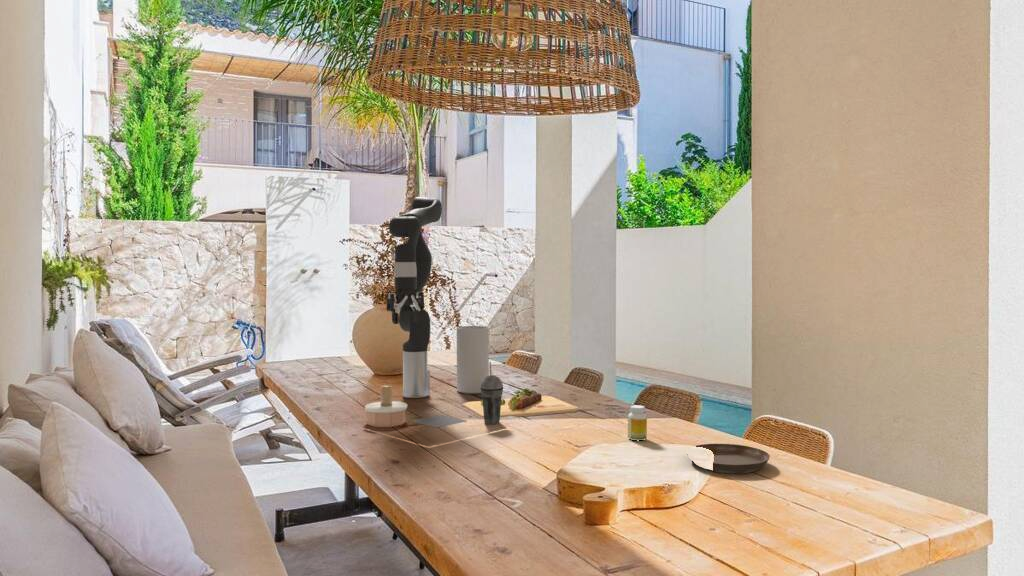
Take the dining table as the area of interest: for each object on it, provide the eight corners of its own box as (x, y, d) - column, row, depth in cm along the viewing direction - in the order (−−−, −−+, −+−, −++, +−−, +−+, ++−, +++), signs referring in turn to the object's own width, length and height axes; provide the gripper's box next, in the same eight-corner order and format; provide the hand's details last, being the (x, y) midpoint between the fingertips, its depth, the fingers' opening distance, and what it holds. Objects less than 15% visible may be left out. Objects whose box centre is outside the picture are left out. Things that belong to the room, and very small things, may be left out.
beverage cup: (507, 423, 233) (507, 360, 232) (497, 428, 226) (497, 363, 225) (486, 421, 236) (486, 359, 235) (476, 426, 229) (476, 362, 228)
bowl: (390, 418, 239) (390, 403, 239) (411, 424, 232) (411, 408, 231) (361, 424, 231) (361, 408, 231) (382, 430, 224) (382, 413, 223)
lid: (391, 402, 241) (390, 381, 240) (415, 408, 231) (415, 386, 231) (357, 408, 231) (357, 386, 231) (381, 414, 222) (381, 391, 222)
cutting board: (483, 422, 238) (484, 398, 238) (460, 407, 259) (460, 386, 259) (580, 413, 251) (580, 391, 251) (550, 400, 273) (550, 380, 273)
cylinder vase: (488, 394, 281) (488, 329, 280) (455, 394, 281) (455, 329, 280) (489, 388, 294) (489, 325, 293) (458, 388, 294) (458, 325, 293)
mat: (441, 416, 243) (441, 414, 243) (467, 422, 234) (467, 420, 234) (409, 422, 234) (409, 420, 234) (436, 429, 225) (435, 427, 225)
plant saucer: (668, 461, 192) (668, 448, 192) (726, 450, 202) (726, 438, 202) (727, 482, 174) (727, 468, 174) (787, 469, 184) (787, 456, 184)
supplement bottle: (624, 438, 214) (624, 405, 214) (639, 436, 217) (639, 403, 216) (635, 442, 210) (635, 409, 209) (650, 440, 212) (650, 407, 212)
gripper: (415, 274, 258) (415, 320, 258) (381, 275, 247) (382, 323, 248) (428, 275, 252) (429, 322, 253) (395, 276, 242) (395, 325, 243)
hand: (405, 323), depth 251 cm, fingers open, 8 cm apart
